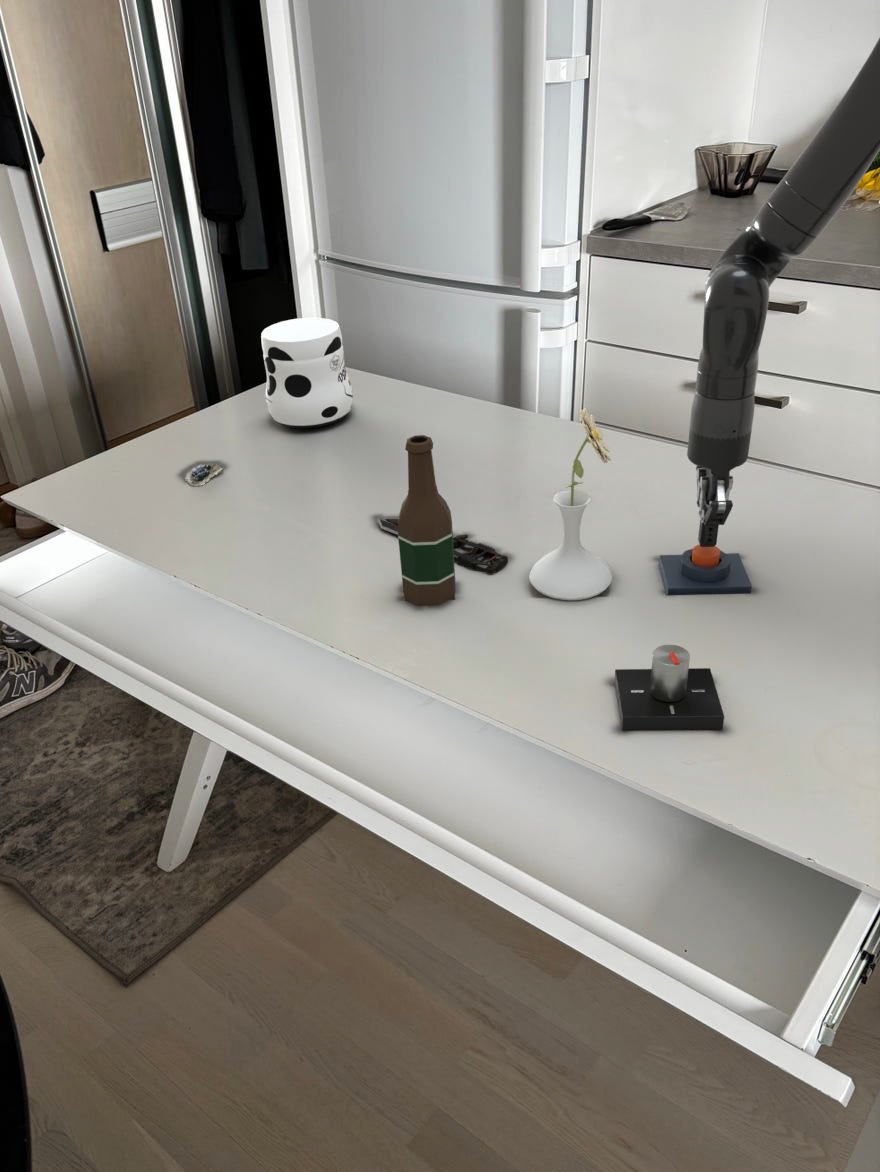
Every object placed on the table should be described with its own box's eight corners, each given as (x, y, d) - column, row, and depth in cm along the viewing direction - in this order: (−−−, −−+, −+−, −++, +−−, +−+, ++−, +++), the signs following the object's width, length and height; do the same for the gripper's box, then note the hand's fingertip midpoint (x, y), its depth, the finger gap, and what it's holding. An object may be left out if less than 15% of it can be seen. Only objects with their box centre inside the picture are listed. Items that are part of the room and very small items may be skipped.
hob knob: (645, 683, 114) (648, 644, 111) (678, 679, 114) (682, 640, 111) (656, 704, 110) (659, 665, 107) (690, 699, 111) (695, 660, 107)
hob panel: (707, 688, 117) (710, 666, 115) (721, 737, 109) (724, 715, 108) (613, 689, 118) (615, 668, 116) (621, 737, 111) (622, 716, 109)
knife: (371, 526, 158) (370, 519, 157) (401, 512, 161) (400, 504, 160) (482, 580, 141) (482, 572, 140) (513, 563, 144) (513, 555, 144)
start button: (716, 554, 136) (717, 543, 135) (721, 567, 133) (722, 556, 132) (689, 555, 136) (690, 544, 135) (693, 568, 133) (695, 557, 132)
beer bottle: (417, 579, 143) (404, 424, 129) (466, 588, 140) (458, 430, 126) (393, 607, 137) (377, 447, 124) (444, 617, 134) (433, 454, 120)
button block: (737, 563, 140) (740, 541, 138) (750, 597, 132) (753, 574, 130) (658, 565, 141) (660, 543, 139) (667, 598, 133) (669, 576, 131)
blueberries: (228, 467, 181) (226, 458, 180) (214, 486, 175) (212, 477, 174) (193, 467, 182) (191, 458, 181) (178, 486, 176) (176, 477, 175)
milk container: (372, 413, 198) (363, 323, 187) (309, 442, 188) (296, 349, 178) (315, 396, 208) (303, 311, 198) (252, 423, 198) (236, 334, 188)
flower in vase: (594, 615, 131) (602, 441, 117) (516, 598, 136) (514, 429, 122) (626, 569, 141) (636, 402, 126) (552, 554, 146) (554, 393, 131)
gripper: (762, 444, 118) (744, 568, 128) (741, 403, 128) (726, 520, 138) (698, 446, 119) (685, 569, 128) (682, 405, 129) (671, 522, 139)
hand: (706, 544), depth 133 cm, fingers closed
